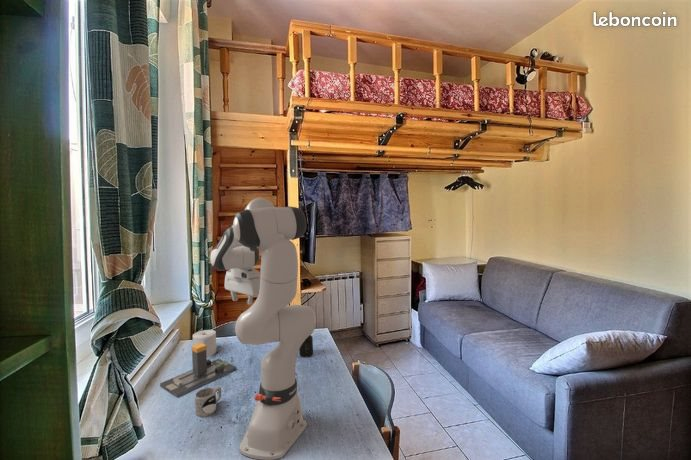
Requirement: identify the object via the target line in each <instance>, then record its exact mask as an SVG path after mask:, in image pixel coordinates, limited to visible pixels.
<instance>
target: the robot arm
mask: <svg viewBox="0 0 691 460" xmlns="http://www.w3.org/2000/svg"><path fill="white" fill-rule="evenodd" d="M306 230H307V219H306V216H305V213H304V212H303V210H302V209H301V208H299V207H296V206H290V205H289V206H283V207H282V206H276V207H275V206H274V203H272V202H271V201H270V200H269V199H268V198H267V199H266V198H263V197H257V198H253V199H251V201H249V203H247V206H246V207H245V208H244V209H243V210H240V211H238V212H236V214H235V215H234V217H233V223H232V225H231V226H229V227H228V228H226V230H225V231H224V233H223V234H222V235H221V238H220V239H219V241H218V243H217V244H216V245H215V246H214V247H213V248H212V250H211V253H210V263H211V266H212V267H213V268H214V269H215V270H217V271H219V272H221V271H226V273H225V276H224V289H225V290H226V291H230V296H231V297H232V301H234V302H237V301H238V300H239V296H237V293H239V294H243V295H247V298H248V299H247V300H246V304H247V305H251V306H250V307H249V308H247V310H244V311H243V312H242V313H241V314H240V315H239V316H238V317H237V319H236V322H235V325H234V326H235V327H234V333H235V335H236V338H237V340H238V341H239V342H240V343H241V344H243V345H251V346H253V345H254V346H255V345H256V346H260V345H266V344H273V343H277V344H276V345H275V346H274V347H273V348H272V349H270V350H269V351H268V352H267V353H265V354H264V356H263V358H262V359H261V361H260V384H259V389H258V392H257V393H256V394H255V396H254V401H255V402H256V404H255V407H254V409H253V411H252V416H250V417H251V418H250V420H249V423H248V426H247V429H246V432H245V434H244V435H243V439H242V441H241V442H240V444H239V446H238V447H239V448H238V450H239V453H240V454H241V455H243V456H246V457H247V458H251V459H255V460H278V459H281V458H283V457H284V456H285V455H286V454H287V452H288V451H289V450H290V448H291V447H292V446H293V445H294V444H295V442H296V441H297V440H298V438H299V437H300V436H301V435H302V434H303V433H304V431H305V430H306V429H307V427H308V424H307V421H306V420H304V418H303V417H304V416H303V415H304V414H303V406H302V400H301V398H300V397H299V395H298V392H297V391H298V382H297V381H298V380H297V377H296V368H297V367H296V364H297V356H298V353H299V349H300V347H301V345H302V344H303V342H304V341H305V340H306V339H307V337H309V336H310V335H311V336H312V335H313V333H314V331H315V329H316V327H317V316H316V313H315V311H314V309H313V307H311V306H310V305H304V304H292V305H291V303H292V302H293V301H294V299H295V297H296V295H297V291H298V290H297V288H298V275H299V263H298V261H299V260H298V251H297V247H296V245H295V243H294V242H293V241H294V240H297V239H300V238H302V237H303V236H304V235H305V233H306ZM260 255H261V259H260ZM260 260H261V261H260ZM259 261H260V271H259V270H257V268H255V266H256V265H257V264H258V263H259ZM255 296H257V297H256V299H255V301H254V303H253V300H254V297H255ZM289 304H290V305H289Z"/></svg>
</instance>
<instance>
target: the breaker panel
mask: <svg viewBox="0 0 691 460" xmlns="http://www.w3.org/2000/svg"><path fill="white" fill-rule="evenodd" d="M234 371H237V366H235V365H234V364H232V363H230V362H227V361H225V360H222V359H221V358H220V359H219V358H216V359H215V360H213V361H211V359H207V373H205V374H203V375H201V376H199V377H198V376H196V375H194V374H193V369H191V370H188V371H185V372H184V373H182V374H178V375H176V376H174V377H172V378H170V379H167V380H165V381H162V382H160V383H159V386H160V388H162V389H163V390H165V391H167V392H168V393H170V394H171V395H173V397H176V398H180V397H182V396H184V395H186V394H188V393H191V392H193V391H194V390H197V389H199V388H201V387H202V386H205V385H208V384H210V383H211V382H214V381H215V380H218V379H221V378H222V377H224V376H226V375H228V374H231V373H232V372H234Z"/></svg>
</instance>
